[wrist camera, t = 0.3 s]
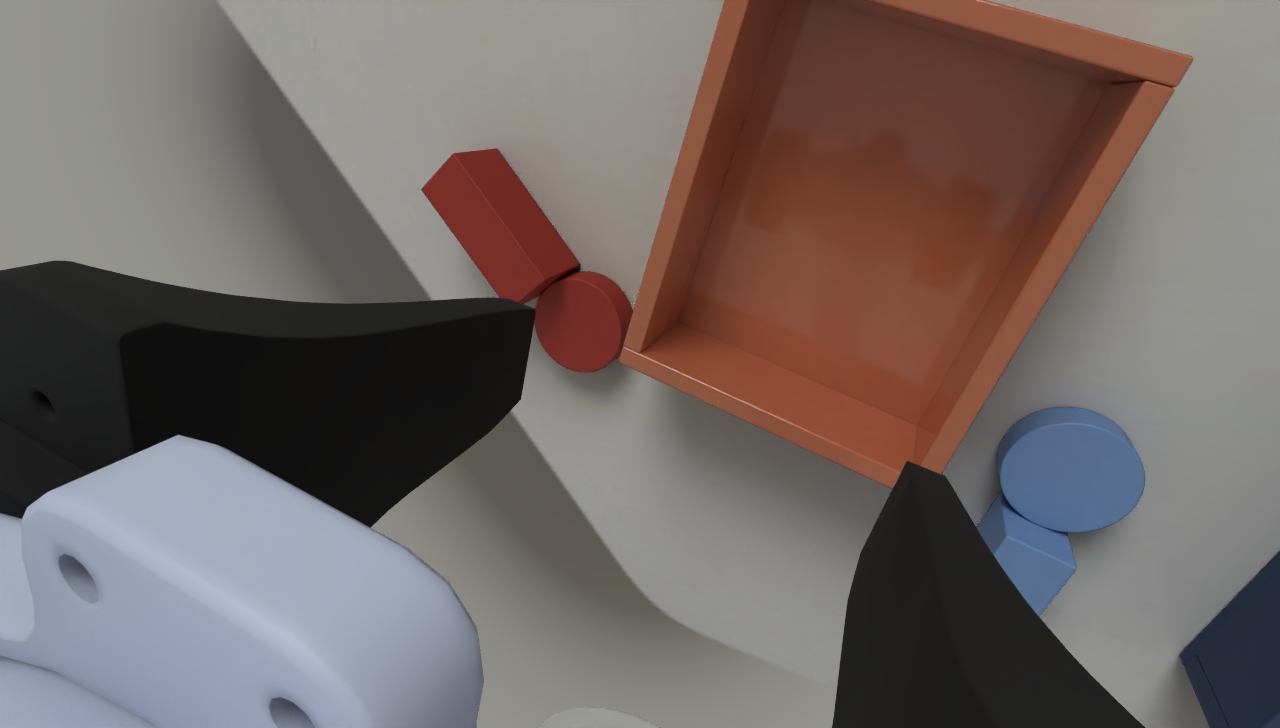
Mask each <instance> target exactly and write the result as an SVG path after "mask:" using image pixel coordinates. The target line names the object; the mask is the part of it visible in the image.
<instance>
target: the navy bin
mask: <svg viewBox="0 0 1280 728" xmlns="http://www.w3.org/2000/svg"><path fill="white" fill-rule="evenodd" d="M1180 658H1181V660H1182V663H1183V665H1184V666H1185V669H1186V672H1187V674H1188V677H1189V679H1190V681H1191V684H1192V686H1193V688H1194V691H1195V693H1196V696H1197V698H1198V700H1199V703H1200V705H1201V707H1202V710H1203V712H1204V715H1205V717H1206V719H1207V722H1208V724H1209V727H1210V728H1280V552H1279V553H1278V554H1277V555H1276V556H1275V557H1274V558H1273V559H1272V560H1271V561H1270V562H1269V563H1268V564H1267V565H1266V566H1265V567H1264V568H1263V569H1262V570H1261V571H1260V572H1259V574H1258V575H1257V576H1256V577H1255V578H1254V579H1253V580H1252V581H1251V582H1250V583H1249V584H1248V585H1247V586H1246V587H1245V588H1244V589H1243V590H1242V591H1241V592H1240V593H1239V594H1238V595H1237V596H1236V597H1235V598H1234V599H1233V600H1232V601H1231V602H1230V603H1229V604H1228V605H1227V606H1226V607H1225V608H1224V609H1223V611H1222V612H1221V613H1220V614H1219V615H1218V616H1217V617H1216V618H1215V619H1214V620H1213V621H1212V622H1211V623H1210V624H1209V625H1208V626H1207V627H1206V628H1205V629H1204V630H1203V631H1202V632H1201V633H1200V634H1199V635H1198V636H1197V637H1196V638H1195V639H1194V640H1193V641H1192V642H1191V643H1190V644H1189V645H1188V646H1187V647H1186V649H1185V650H1184V651H1183V652H1182V653H1181V654H1180Z"/></svg>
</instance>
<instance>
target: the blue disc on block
mask: <svg viewBox="0 0 1280 728" xmlns="http://www.w3.org/2000/svg"><path fill="white" fill-rule="evenodd" d="M997 464H998V471H999V478H1000V485H1001V488H1002V491H1003V493H1000V494H999V495H998V497H997V498H996V500H995V501H994V503H993V504H992V506H991V507H990V509H989V510H988V512H987V513H986V515H985V516H984V518H983V519H982V520H981V522H980V523H979V525H978V526H977V530H978V531H979V533H980V535H981V536H982V538H983V539H984V541H985V543H986V544H987V546H988V547H989V549H990V550H991V552H992V553H993V555H994V556H995V558H996V559H997V561H998V562H999V564H1000V565H1001V567H1002V568H1003V570H1004V571H1005V573H1006V574H1007V575H1008V577H1009V578H1010V579H1011V581H1012V582H1013V584H1014V585H1015V586H1016V588H1017V589H1018V590H1019V592H1020V593H1021V595H1022V596H1023V597H1024V599H1025V600H1026V601H1027V603H1028V604H1029V605H1030V606H1031V608H1032V609H1033V610H1034V611H1035V613H1036V614H1037V615H1038V616H1040V615H1041V613H1042V612H1043V611H1044V610H1045V608H1046V607H1047V606H1048V605H1049V603H1050V602H1051V601H1052V600H1053V598H1054V597H1055V596H1056V595H1057V593H1058V592H1059V591H1060V590H1061V588H1062V587H1063V586H1064V585H1065V583H1066V582H1067V581H1068V579H1069V578H1070V577H1071V576H1072V574H1073V573H1074V572H1075V571H1076V569H1077V566H1076V563H1075V559H1074V556H1073V552H1072V548H1071V545H1070V541H1069V538H1068V534H1067V532H1088V531H1094V530H1098V529H1101V528H1104V527H1107V526H1110V525H1112V524H1114V523H1116V522H1118V521H1119V520H1121V519H1122V518H1124V517H1125V516H1126V515H1127V514H1129V513H1130V512H1131V511H1132V510H1133V508H1134V507H1135V506H1136V504H1137V503H1138V502H1139V500H1140V498H1141V496H1142V493H1143V490H1144V486H1145V472H1144V468H1143V464H1142V462H1141V460H1140V458H1139V456H1138V454H1137V452H1136V450H1135V448H1134V446H1133V445H1132V443H1131V441H1130V439H1129V438H1128V436H1127V435H1126V433H1125V432H1124V431H1123V430H1122V429H1121V428H1120V427H1119V426H1118V425H1117V424H1115V423H1114V422H1113V421H1111V420H1110V419H1108V418H1106V417H1104V416H1102V415H1100V414H1098V413H1095V412H1092V411H1089V410H1085V409H1080V408H1072V407H1058V408H1050V409H1045V410H1041V411H1038V412H1035V413H1033V414H1030V415H1028V416H1026V417H1024V418H1023V419H1021V420H1020V421H1018V422H1017V423H1016V424H1014V425H1013V426H1012V427H1011V428H1010V429H1009V430H1008V432H1007V433H1006V434H1005V436H1004V437H1003V439H1002V441H1001V443H1000V446H999V449H998V454H997Z"/></svg>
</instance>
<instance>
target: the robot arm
mask: <svg viewBox="0 0 1280 728" xmlns="http://www.w3.org/2000/svg"><path fill="white" fill-rule="evenodd" d="M535 314H536V309H533V308H531V307H528V306H526V305H524V304H521V303H519V302H516V301H514V300H511V299H505V298H468V299H451V300H435V301H419V302H396V303H367V304H336V303H334V304H333V303H311V302H310V303H309V302H293V301H282V300H274V299H264V298H253V297H245V296H236V295H228V294H222V293H215V292H209V291H203V290H197V289H191V288H186V287H180V286H174V285H169V284H164V283H159V282H154V281H150V280H145V279H141V278H137V277H133V276H128V275H124V274H120V273H115V272H112V271H107V270H103V269H99V268H95V267H90V266H86V265H83V264H79V263H75V262H70V261H50V262H44V263H39V264H34V265H28V266H23V267H17V268H12V269H7V270H1V271H0V728H476V721H477V716H478V711H479V705H480V700H481V694H482V689H483V684H484V677H483V669H482V662H481V655H480V646H479V638H478V632H477V629H476V625H475V624H474V622H473V620H472V619H471V617H470V615H469V614H468V612H467V611H466V609H465V607H464V606H463V604H462V602H461V601H460V599H459V597H458V596H457V594H456V593H455V591H454V589H453V588H452V586H451V584H450V583H449V582H448V581H447V580H446V579H445V578H444V577H442V576H441V575H440V574H439V573H438V572H436V571H435V570H434V569H433V568H431V567H430V566H429V565H428V564H427V563H425V562H424V561H423V560H422V559H420V558H419V557H418V556H416V555H415V554H414V553H413V552H412V551H411V550H409V549H408V548H406V547H405V546H403V545H401V544H399V543H397V542H395V541H393V540H392V539H390V538H388V537H386V536H385V535H383V534H381V533H379V532H377V531H375V530H374V529H372V528H371V527H372V526H373V525H374V524H375V523H376V522H377V521H378V520H379V519H380V518H381V517H382V516H383V515H384V514H385V513H386V512H387V511H388V510H389V509H391V508H392V507H393V506H394V505H395V504H397V503H398V502H399V501H400V500H401V499H403V498H404V497H405V496H406V495H408V494H409V493H410V492H411V491H413V490H414V489H415V488H417V487H418V486H419V485H421V484H422V483H423V482H425V481H426V480H427V479H429V478H430V477H431V476H433V475H434V474H435V473H437V472H438V471H439V470H441V469H442V468H443V467H444V466H446V465H447V464H449V463H450V462H451V461H453V460H454V459H455V458H457V457H458V456H459V455H461V454H462V453H463V452H464V451H466V450H467V449H468V448H470V447H471V446H472V445H474V444H475V443H476V442H477V441H479V440H480V439H481V438H482V437H484V436H485V435H486V434H488V433H489V432H490V431H491V430H492V429H493V428H494V427H495V426H496V425H497V424H498V423H499V422H500V421H501V420H502V419H503V418H504V417H505V416H506V415H507V414H508V413H509V412H510V410H511V409H512V408H513V407H514V406H515V405H516V404H517V403H518V402H519V401H520V400H521V395H522V389H523V384H524V378H525V372H526V366H527V361H528V355H529V349H530V343H531V338H532V332H533V326H534V320H535ZM832 728H1145V727H1144V726H1143V725H1142V724H1141V723H1140V722H1139V721H1138V720H1136V719H1135V718H1134V717H1133V716H1132V715H1131V714H1130V713H1129V712H1128V711H1127V710H1126V709H1125V708H1124V707H1123V706H1122V705H1121V704H1120V703H1119V702H1118V701H1117V700H1116V699H1115V698H1114V697H1113V696H1112V695H1111V694H1110V693H1109V692H1108V691H1107V690H1106V689H1104V688H1103V687H1102V686H1101V685H1100V684H1099V683H1098V682H1097V681H1096V680H1095V679H1094V678H1093V677H1092V676H1091V675H1090V674H1089V673H1088V672H1087V670H1086V669H1085V668H1084V667H1083V666H1082V665H1081V664H1080V663H1079V662H1078V661H1077V660H1076V659H1075V658H1074V657H1073V656H1072V655H1071V653H1070V652H1069V651H1068V650H1067V649H1066V648H1065V647H1064V645H1063V644H1062V643H1061V642H1060V641H1059V640H1058V639H1057V637H1056V636H1055V635H1054V634H1053V633H1052V632H1051V630H1050V629H1049V628H1048V627H1047V626H1046V625H1045V623H1044V622H1043V621H1042V620H1041V619H1040V618H1039V616H1038V615H1037V614H1036V613H1035V611H1034V610H1033V609H1032V608H1031V606H1030V605H1029V604H1028V603H1027V601H1026V600H1025V599H1024V597H1023V596H1022V595H1021V593H1020V592H1019V590H1018V589H1017V588H1016V586H1015V585H1014V584H1013V582H1012V581H1011V579H1010V578H1009V577H1008V575H1007V574H1006V573H1005V571H1004V570H1003V568H1002V567H1001V565H1000V564H999V562H998V561H997V559H996V558H995V556H994V555H993V553H992V552H991V550H990V549H989V547H988V546H987V544H986V543H985V541H984V539H983V538H982V536H981V535H980V533H979V531H978V530H977V528H976V526H975V525H974V523H973V522H972V520H971V518H970V516H969V515H968V513H967V511H966V510H965V508H964V506H963V505H962V503H961V501H960V500H959V498H958V496H957V494H956V493H955V491H954V489H953V488H952V486H951V484H950V483H949V481H948V480H947V478H946V477H945V476H944V475H942V474H939V473H937V472H934V471H932V470H929V469H927V468H924V467H922V466H919V465H917V464H914V463H912V462H910V461H907V462H906V464H905V466H904V468H903V470H902V472H901V474H900V476H899V478H898V480H897V482H896V484H895V485H894V487H893V489H892V491H891V493H890V495H889V497H888V499H887V501H886V503H885V505H884V507H883V509H882V511H881V513H880V515H879V517H878V519H877V521H876V523H875V525H874V527H873V529H872V531H871V533H870V535H869V537H868V539H867V541H866V543H865V545H864V547H863V549H862V551H861V553H860V557H859V561H858V564H857V568H856V571H855V575H854V579H853V582H852V586H851V590H850V594H849V598H848V603H847V610H846V618H845V626H844V635H843V643H842V651H841V660H840V669H839V677H838V686H837V695H836V703H835V712H834V719H833V725H832Z"/></svg>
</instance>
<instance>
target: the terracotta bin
mask: <svg viewBox="0 0 1280 728" xmlns="http://www.w3.org/2000/svg"><path fill="white" fill-rule="evenodd" d="M1192 62H1193V57H1192V56H1189V55H1185V54H1182V53H1178V52H1174V51H1171V50H1167V49H1163V48H1160V47H1156V46H1152V45H1149V44H1145V43H1141V42H1138V41H1134V40H1130V39H1127V38H1123V37H1119V36H1116V35H1112V34H1108V33H1104V32H1101V31H1097V30H1093V29H1090V28H1086V27H1082V26H1079V25H1075V24H1071V23H1068V22H1064V21H1060V20H1057V19H1053V18H1049V17H1046V16H1042V15H1038V14H1035V13H1031V12H1027V11H1024V10H1020V9H1016V8H1012V7H1009V6H1005V5H1001V4H998V3H994V2H990V1H987V0H725V1H724V4H723V8H722V11H721V14H720V18H719V21H718V25H717V28H716V31H715V35H714V38H713V42H712V45H711V48H710V52H709V55H708V59H707V62H706V65H705V69H704V72H703V76H702V79H701V82H700V86H699V89H698V93H697V96H696V99H695V103H694V106H693V110H692V113H691V116H690V120H689V123H688V127H687V130H686V133H685V137H684V140H683V144H682V147H681V150H680V154H679V157H678V161H677V164H676V167H675V171H674V174H673V178H672V181H671V184H670V188H669V191H668V195H667V198H666V202H665V205H664V208H663V212H662V215H661V219H660V222H659V225H658V229H657V232H656V236H655V239H654V242H653V246H652V249H651V253H650V256H649V259H648V263H647V266H646V270H645V273H644V276H643V280H642V283H641V287H640V290H639V293H638V297H637V300H636V304H635V307H634V310H633V314H632V317H631V321H630V324H629V327H628V331H627V334H626V338H625V341H624V347H623V348H622V352H621V355H620V359H619V362H620V363H621V364H624V365H626V366H628V367H630V368H632V369H634V370H637V371H639V372H641V373H643V374H645V375H647V376H650V377H652V378H654V379H656V380H658V381H660V382H662V383H665V384H667V385H669V386H671V387H673V388H675V389H678V390H680V391H682V392H684V393H686V394H688V395H691V396H693V397H695V398H697V399H699V400H701V401H703V402H706V403H708V404H710V405H712V406H714V407H716V408H719V409H721V410H723V411H725V412H727V413H729V414H732V415H734V416H736V417H738V418H740V419H742V420H744V421H747V422H749V423H751V424H753V425H755V426H757V427H760V428H762V429H764V430H766V431H768V432H770V433H773V434H775V435H777V436H779V437H781V438H783V439H786V440H788V441H790V442H792V443H794V444H796V445H798V446H801V447H803V448H805V449H807V450H809V451H811V452H814V453H816V454H818V455H820V456H822V457H824V458H827V459H829V460H831V461H833V462H835V463H837V464H839V465H842V466H844V467H846V468H848V469H850V470H852V471H855V472H857V473H859V474H861V475H863V476H865V477H868V478H870V479H872V480H874V481H876V482H878V483H880V484H883V485H885V486H887V487H889V488H891V489H893V487H894V485H895V484H896V482H897V480H898V478H899V476H900V474H901V472H902V470H903V468H904V466H905V464H906V462H907V461H910V462H912V463H914V464H917V465H919V466H922V467H924V468H927V469H929V470H932V471H934V472H937V473H939V474H942V473H943V471H944V469H945V468H946V466H947V464H948V463H949V461H950V459H951V458H952V456H953V454H954V453H955V451H956V450H957V448H958V446H959V445H960V443H961V441H962V440H963V438H964V436H965V435H966V433H967V431H968V430H969V428H970V426H971V425H972V423H973V422H974V420H975V418H976V417H977V415H978V413H979V412H980V410H981V408H982V407H983V405H984V403H985V402H986V400H987V399H988V397H989V395H990V394H991V392H992V390H993V389H994V387H995V385H996V384H997V382H998V380H999V379H1000V377H1001V376H1002V374H1003V372H1004V371H1005V369H1006V367H1007V366H1008V364H1009V362H1010V361H1011V359H1012V357H1013V356H1014V354H1015V353H1016V351H1017V349H1018V348H1019V346H1020V344H1021V343H1022V341H1023V339H1024V338H1025V336H1026V334H1027V333H1028V331H1029V330H1030V328H1031V326H1032V325H1033V323H1034V321H1035V320H1036V318H1037V316H1038V315H1039V313H1040V311H1041V310H1042V308H1043V306H1044V305H1045V303H1046V302H1047V300H1048V298H1049V297H1050V295H1051V293H1052V292H1053V290H1054V288H1055V287H1056V285H1057V283H1058V282H1059V280H1060V279H1061V277H1062V275H1063V274H1064V272H1065V270H1066V269H1067V267H1068V265H1069V264H1070V262H1071V260H1072V259H1073V257H1074V256H1075V254H1076V252H1077V251H1078V249H1079V247H1080V246H1081V244H1082V242H1083V241H1084V239H1085V237H1086V236H1087V234H1088V233H1089V231H1090V229H1091V228H1092V226H1093V224H1094V223H1095V221H1096V219H1097V218H1098V216H1099V214H1100V213H1101V211H1102V209H1103V208H1104V206H1105V205H1106V203H1107V201H1108V200H1109V198H1110V196H1111V195H1112V193H1113V191H1114V190H1115V188H1116V186H1117V185H1118V183H1119V182H1120V180H1121V178H1122V177H1123V175H1124V173H1125V172H1126V170H1127V168H1128V167H1129V165H1130V163H1131V162H1132V160H1133V159H1134V157H1135V155H1136V154H1137V152H1138V150H1139V149H1140V147H1141V145H1142V144H1143V142H1144V140H1145V139H1146V137H1147V136H1148V134H1149V132H1150V131H1151V129H1152V127H1153V126H1154V124H1155V122H1156V121H1157V119H1158V117H1159V116H1160V114H1161V112H1162V111H1163V109H1164V108H1165V106H1166V104H1167V103H1168V101H1169V99H1170V98H1171V96H1172V94H1173V93H1174V89H1173V88H1172V87H1176V86H1177V85H1179V83H1180V81H1181V80H1182V78H1183V76H1184V75H1185V73H1186V71H1187V70H1188V68H1189V66H1190V65H1191V63H1192Z"/></svg>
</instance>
